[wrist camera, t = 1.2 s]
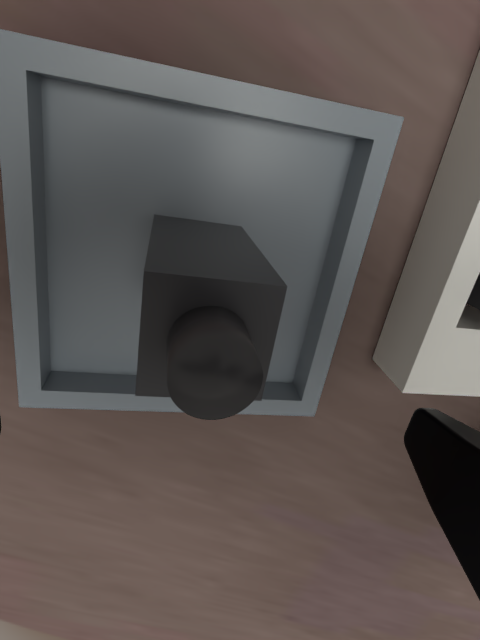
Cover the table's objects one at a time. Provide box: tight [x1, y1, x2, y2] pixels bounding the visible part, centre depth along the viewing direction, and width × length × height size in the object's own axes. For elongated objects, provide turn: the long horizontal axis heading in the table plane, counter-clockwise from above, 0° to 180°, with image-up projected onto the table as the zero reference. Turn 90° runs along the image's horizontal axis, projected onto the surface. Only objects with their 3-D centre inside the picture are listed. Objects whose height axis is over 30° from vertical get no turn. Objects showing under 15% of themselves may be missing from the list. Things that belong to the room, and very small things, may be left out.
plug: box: [135, 214, 288, 420], centre depth 14 cm, size 4×4×10 cm
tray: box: [0, 29, 404, 416], centre depth 18 cm, size 15×15×2 cm
